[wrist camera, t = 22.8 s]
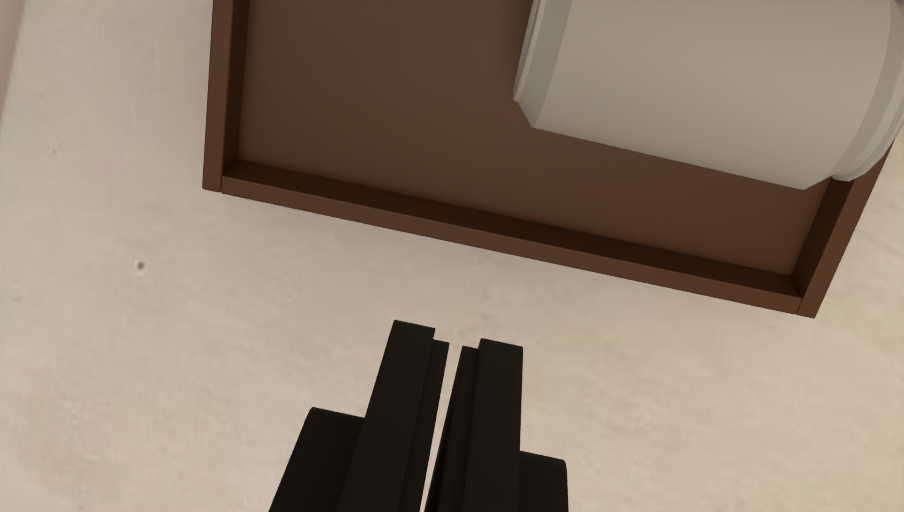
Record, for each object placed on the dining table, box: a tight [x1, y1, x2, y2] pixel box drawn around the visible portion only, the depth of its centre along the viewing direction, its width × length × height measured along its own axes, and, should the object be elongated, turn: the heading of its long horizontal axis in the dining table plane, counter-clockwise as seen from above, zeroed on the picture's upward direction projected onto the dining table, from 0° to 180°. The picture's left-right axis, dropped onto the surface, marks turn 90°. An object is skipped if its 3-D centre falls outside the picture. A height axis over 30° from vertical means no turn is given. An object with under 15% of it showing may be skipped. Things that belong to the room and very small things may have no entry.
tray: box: [202, 0, 895, 318], centre depth 32 cm, size 26×17×3 cm, turn 79°
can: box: [513, 0, 904, 190], centre depth 29 cm, size 8×8×12 cm
